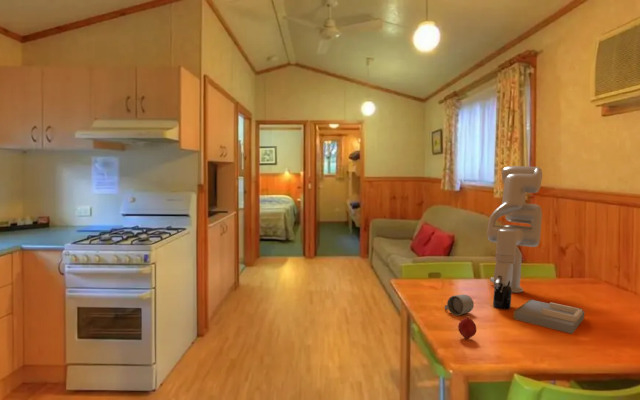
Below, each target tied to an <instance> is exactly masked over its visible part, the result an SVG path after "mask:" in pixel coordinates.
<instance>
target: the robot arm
mask: <svg viewBox="0 0 640 400" xmlns="http://www.w3.org/2000/svg"><path fill="white" fill-rule="evenodd" d="M501 180H502V183H503V191H502V200H501V204H500V205H499V206H498V207H496V209H495V208H494V210H493V211H492V213H491V214H490V216H489V219H488V225H487V231H486V236H487V240H488V241H489V242H491V243H496V244H495V245H496V246H495V259H494V260H495V267H494V273H493V277H490V278H489V281H490V282H491V283H492V284H493V285H494V287H495V296H494V295H493V299H494V300H495V301H499V302H502V301H503V292H502V291H503V288H504V287H506V286H507V285H508V283H509V281H510V285H509V286H510V287H511V288H512V294H513V293H515V294H518V293H523V292H524V289H523V287H522V286H521V275H522V274H521V273H522V259H523V254H522V252H521V250H520V249H519V246H521V247H530V248H536V247H538V246H539V245H540V242H541V234H542V233H541V232H542V221H543V219H542V218H543V212H542V208H541V206H540V205H538V204H536V203H526V198H527V197H526V195H527V193H529V194H530V193H531V194H537V193H538V192H539V191H540V189H541V185H542V180H543V169H541V167H539V166H525V165H523V166H522V165H510V166H505V167H503V168H502V169H501ZM503 216H504V217H505V220H506V221H508V222H511V223H516V224H517V223H518V224H527V225H528V226H526V225H516V224H505V225H497V224H496V223H497V220H499V218H501V217H503ZM529 225H530V226H529ZM501 284H502V285H501ZM500 287H501V288H500Z"/></svg>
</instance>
